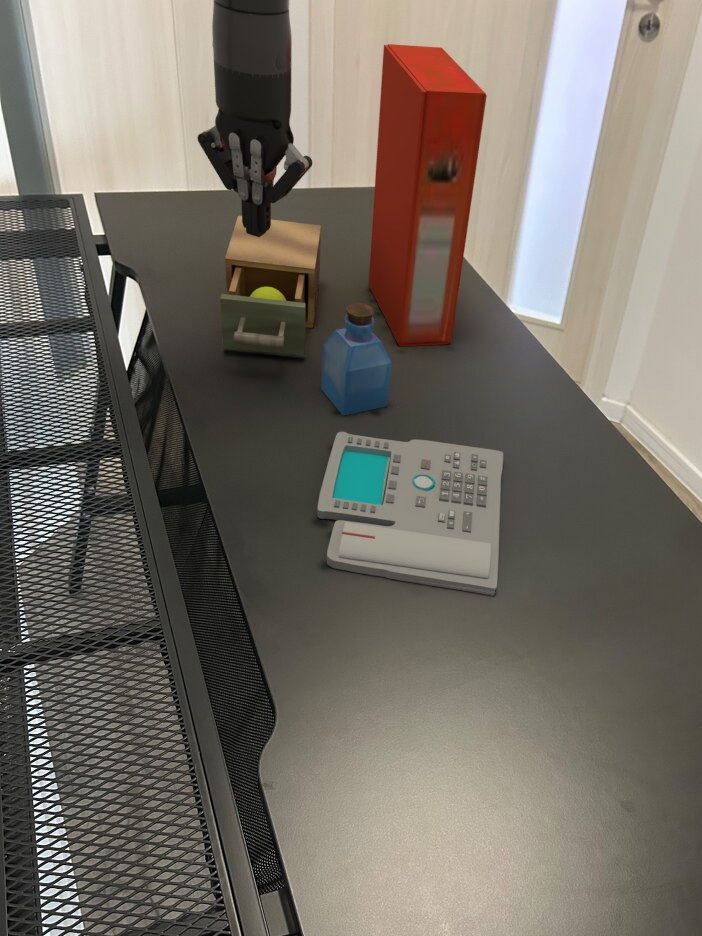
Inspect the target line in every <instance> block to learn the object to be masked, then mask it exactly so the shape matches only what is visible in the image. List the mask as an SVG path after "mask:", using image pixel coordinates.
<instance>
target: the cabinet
mask: <svg viewBox="0 0 702 936" xmlns="http://www.w3.org/2000/svg"><path fill="white" fill-rule="evenodd" d="M321 236H322V225H321V224H313V223H312V224H311V223H303V222H295V221H286V220H279V219H271V226H270V229H269V230H267V231H266V233H265V234H264V235H262V236H261V237H256V236H253V235H250V234H247V233H246V228H245V227H244V226H243V223H242V215H238V216H237V218H236V222H235V225H234V228H233V231H232V234H231V237H230V241H229V244H228V246H227V247H228V248H227V250H226V254H225V256H224V257H225V258H224V265H225V267H224V268H225V285H226V286H225V287H226V294H228V295H229V289H230V285H231V282H232V278H233V275H234V271H235V268H236V265H237V266H246V267H255V268H264V269H272V270H281V271H290V272H299V273H306V319H305V328H307V329H309V328H310V329H314V324H315V317H316V310H317V301H318V294H319V287H320V274H321V273H320V271H321V269H320V268H321V243H322V242H321V241H322V239H321V238H322V237H321Z"/></svg>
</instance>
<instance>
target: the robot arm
mask: <svg viewBox="0 0 702 936" xmlns="http://www.w3.org/2000/svg"><path fill="white" fill-rule="evenodd" d="M212 9H213V10H212V23H211V25H212V26H211V29H212V30H211V31H212V53H213V71H214V72H213V73H214V74H213V75H214V92H215V94H214V95H215V105H216V107H217V108H218V109H217V114H216V116H215V118H214V126H213V127H210V128H209V129H206V130H204V131H202V132H201V133H199V134H197V137H196V138H197V142H198V144H199V146H200V147H201V149H202V151H203V153H204V154H205V155H206V157H207V159H208V161H209V162H210V164H211V167H213V169H214V171H215V173H216V174H217V176H218V178H219V180H220V181H221V183H222V185H223V187H224V188H225V189H226V190H227V191H234V192H236V193H237V194H238V197H239V198H240V200H241V201H240V203H241V216H242V223H243V226H244V227H245V228H246V233H247V234H250V235H253V236H256V237H261V236H262V235H264V234H265V233H266V231H267V230H269V229H270V226H271V220H272V207H271V206H272V205H271V204H276V203H277V202H278V201H280V200H282V199H283V198H284V197H286V196H287V195H289V193H290V192H291V190H293V188H294V187H295V186H296V185H297V184H298V182H300V180H301V179H302V178H303V177H305V175H306V173H307V172H308V171H309V170H310V169H311V168H312V166H313V159H312V157H311V156H309V155H302V153H301V152H300V151H299V150H298V149H297V147H296V146H295V145H294V140H295V138H294V137H295V136H294V134H293V131H292V129H291V123H290V122H291V121H290V120H291V115H292V65H293V64H292V62H293V61H292V53H293V52H292V48H293V47H292V46H293V42H292V41H293V39H292V27H291V19H290V18H291V17H290V0H213V7H212ZM284 158H285V161H284V163H283V169H284V171H285V172H283V174H282V175H281V176H280V178H278V180H277V181H276V182H275V183H274V181H275V177H276V176H277V170H278V166H279V164H280V163H281V162H282V160H283V159H284Z"/></svg>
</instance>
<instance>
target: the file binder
mask: <svg viewBox="0 0 702 936" xmlns="http://www.w3.org/2000/svg"><path fill="white" fill-rule="evenodd" d="M382 51H383V52H382V67H381V68H382V69H381V84H380V98H379V99H380V101H379V116H378V129H377V145H376V162H375V179H374V192H373V193H374V194H373V209H372V210H373V211H372V223H371V225H372V226H371V241H370V255H369V256H370V257H369V273H368V286H369V288H370V291H371V293H372V295H373V297H374V299H375V300H376V303H377V305H378V306H379V309H380V311H381V313H382V315H383V317H384V319H385V321H386V323H387V325H388V327H389V329H390V331H391V333H392V335H393V337H394V339H395V341H396V344H397V345H398V347H419V346H437V345H438V346H439V345H440V346H441V345H448V344H451V343H452V340H453V339H452V338H453V332H454V325H455V319H456V311H457V304H458V298H459V290H460V284H461V278H462V277H461V276H462V270H463V264H464V263H463V262H464V255H465V249H466V241H467V236H468V230H469V229H468V228H469V220H470V214H471V207H472V200H473V194H474V186H475V179H476V174H477V173H476V172H477V165H478V159H479V153H480V152H479V151H480V146H481V145H480V144H481V138H482V130H483V125H484V117H485V112H486V111H485V110H486V103H487V97H488V96H487V93H486V92H485V90H483V89H482V88H481V87H480V86H479V84H478V83H476V82H475V80H473V78H472V77H471V76H470V75H469V74H468V73H467V72H466V71H465V70H464V69H463V68H462V67H461V66H460V65H459V64H458V63H457V62H456V61H455V60H454V59H453V58H452V57H451V56H450V54H449V53H448V52H446V50H445V49H444V48H443V47H439V46H425V45H423V46H422V45H409V44H393V43H387V44H383V50H382Z"/></svg>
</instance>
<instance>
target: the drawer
mask: <svg viewBox="0 0 702 936" xmlns="http://www.w3.org/2000/svg"><path fill="white" fill-rule="evenodd" d="M261 287H272V288H275V289H277V290H278V291H279V292H281V293H282V294H283V296H284V297H285V299H286V301H282V300H273V299H264V298H255V297H250V295H251V294H252V293H253V292H254V291H255V290H256V289H258V288H261ZM219 300H220V301H219V302H220V318H221V319H220V320H221V336H222V338H221V339H222V348H225V349H234V350H235V349H236V350H243V351H244V350H245V351H254V352H255V351H256V352H262V353H263V352H264V353H274V354H275V353H276V354H283V355H294V356H303V357H304V356H305V353H306V327H305V319H306V273H299V272H290V271H281V270H272V269H264V268H255V267H246V266H237V265H236V268H235V271H234V275H233V278H232V282H231V285H230V289H229V295H228V294H227V293H221V295H220V298H219Z"/></svg>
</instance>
